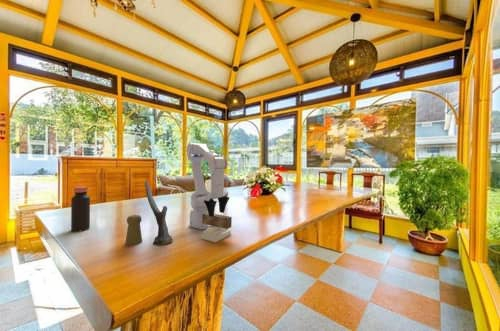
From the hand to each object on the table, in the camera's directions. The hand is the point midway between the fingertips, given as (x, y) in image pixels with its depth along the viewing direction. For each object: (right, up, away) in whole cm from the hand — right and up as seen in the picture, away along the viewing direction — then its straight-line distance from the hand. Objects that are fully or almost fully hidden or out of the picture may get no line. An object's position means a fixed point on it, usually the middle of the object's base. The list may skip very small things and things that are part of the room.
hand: (216, 214), depth 92 cm
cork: (-32, -10, -9) cm, 35 cm away
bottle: (-65, -9, +5) cm, 66 cm away
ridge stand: (0, -10, 0) cm, 10 cm away
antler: (-23, -10, -8) cm, 26 cm away
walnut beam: (0, -5, 0) cm, 5 cm away
